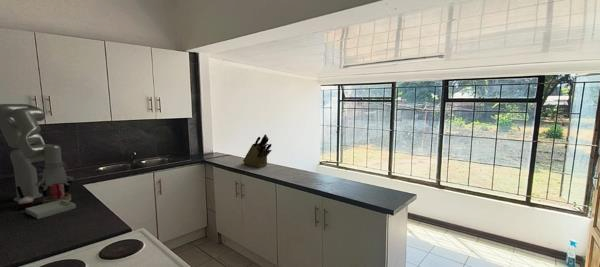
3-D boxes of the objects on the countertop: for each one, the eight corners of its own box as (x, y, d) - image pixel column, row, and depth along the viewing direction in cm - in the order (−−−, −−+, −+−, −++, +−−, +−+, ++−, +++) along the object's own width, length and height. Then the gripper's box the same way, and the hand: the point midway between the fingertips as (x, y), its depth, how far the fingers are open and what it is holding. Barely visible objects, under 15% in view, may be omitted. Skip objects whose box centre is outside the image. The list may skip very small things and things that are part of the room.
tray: (26, 212, 143) (25, 208, 143) (63, 203, 157) (63, 199, 157) (37, 218, 136) (37, 214, 135) (76, 208, 150) (75, 204, 149)
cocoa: (35, 208, 151) (35, 187, 150) (20, 211, 146) (19, 190, 145) (31, 204, 156) (30, 184, 155) (16, 207, 151) (15, 186, 150)
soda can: (63, 198, 165) (61, 180, 164) (66, 201, 161) (64, 182, 160) (48, 202, 160) (46, 182, 159) (50, 204, 155) (48, 184, 154)
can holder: (39, 203, 158) (38, 198, 158) (65, 197, 169) (65, 192, 168) (48, 207, 152) (47, 201, 152) (74, 200, 163) (74, 195, 162)
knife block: (263, 169, 241) (262, 135, 238) (242, 163, 267) (242, 132, 264) (273, 167, 248) (272, 134, 245) (252, 161, 274) (251, 132, 271)
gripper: (69, 162, 167) (71, 189, 169) (31, 168, 152) (34, 197, 154) (74, 163, 164) (76, 191, 165) (36, 169, 149) (39, 199, 150)
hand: (56, 194), depth 160 cm, fingers open, 9 cm apart
